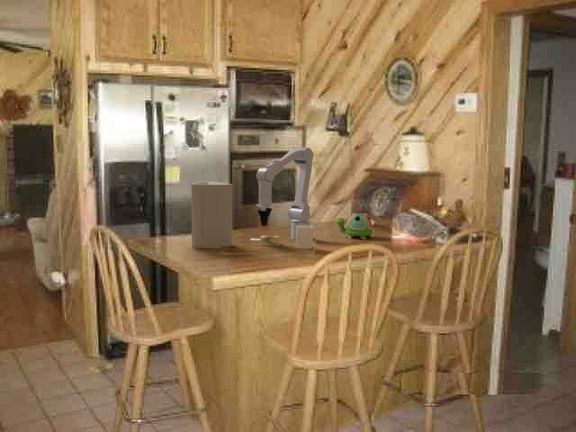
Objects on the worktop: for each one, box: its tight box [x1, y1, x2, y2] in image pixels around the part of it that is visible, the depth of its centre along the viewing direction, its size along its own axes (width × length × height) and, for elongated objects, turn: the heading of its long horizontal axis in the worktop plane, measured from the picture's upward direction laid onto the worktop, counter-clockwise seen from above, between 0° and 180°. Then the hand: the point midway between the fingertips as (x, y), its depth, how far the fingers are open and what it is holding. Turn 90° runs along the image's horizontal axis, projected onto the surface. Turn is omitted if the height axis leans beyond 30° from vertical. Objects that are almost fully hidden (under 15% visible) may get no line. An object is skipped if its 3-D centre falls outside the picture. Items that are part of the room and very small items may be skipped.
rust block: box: [258, 216, 271, 230], centre depth 269 cm, size 4×4×5 cm
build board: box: [249, 237, 280, 247], centre depth 276 cm, size 18×19×1 cm
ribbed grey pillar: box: [190, 181, 233, 249], centre depth 267 cm, size 19×15×28 cm
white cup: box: [295, 225, 315, 250], centre depth 263 cm, size 8×8×10 cm
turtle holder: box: [336, 212, 374, 240], centre depth 295 cm, size 12×18×12 cm
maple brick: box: [259, 235, 280, 247], centre depth 270 cm, size 8×5×4 cm, turn 86°
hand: (264, 224), depth 270 cm, fingers closed on rust block, 4 cm apart
